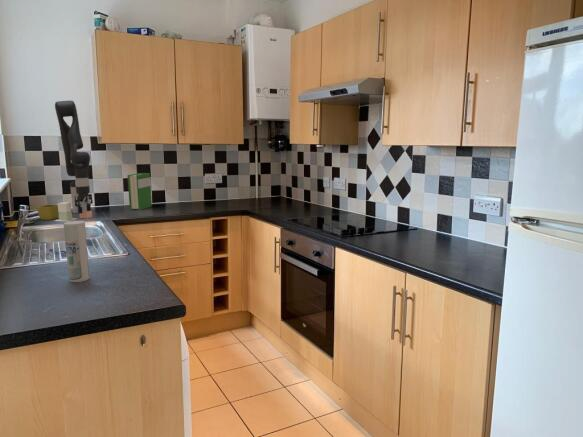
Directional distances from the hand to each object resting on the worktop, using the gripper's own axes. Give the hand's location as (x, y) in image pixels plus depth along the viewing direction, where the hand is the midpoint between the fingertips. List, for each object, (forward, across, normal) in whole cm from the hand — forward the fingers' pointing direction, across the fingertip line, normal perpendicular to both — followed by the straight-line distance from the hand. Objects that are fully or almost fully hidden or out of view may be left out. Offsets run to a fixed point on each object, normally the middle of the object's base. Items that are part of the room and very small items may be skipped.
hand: (84, 212), depth 267 cm
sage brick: (+3, +7, -8) cm, 11 cm away
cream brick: (-2, +8, -8) cm, 11 cm away
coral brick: (+4, -1, 0) cm, 5 cm away
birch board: (+4, +7, -8) cm, 12 cm away
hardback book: (+4, -47, +12) cm, 49 cm away
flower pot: (+5, +7, -19) cm, 20 cm away
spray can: (+7, +109, +68) cm, 129 cm away
